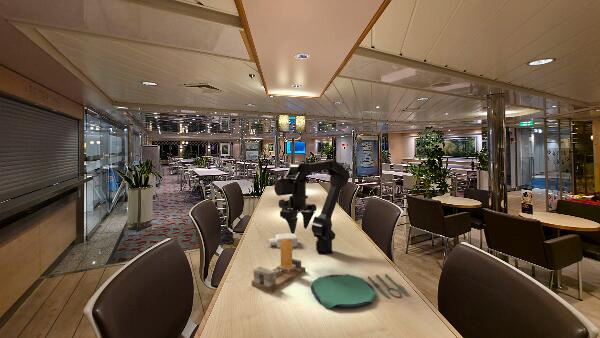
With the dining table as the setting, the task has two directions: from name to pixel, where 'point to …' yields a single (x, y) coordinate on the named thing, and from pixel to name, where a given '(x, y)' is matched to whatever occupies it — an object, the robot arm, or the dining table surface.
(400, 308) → the dining table surface
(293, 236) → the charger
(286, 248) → the orange wooden beam
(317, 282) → the cutlery set
